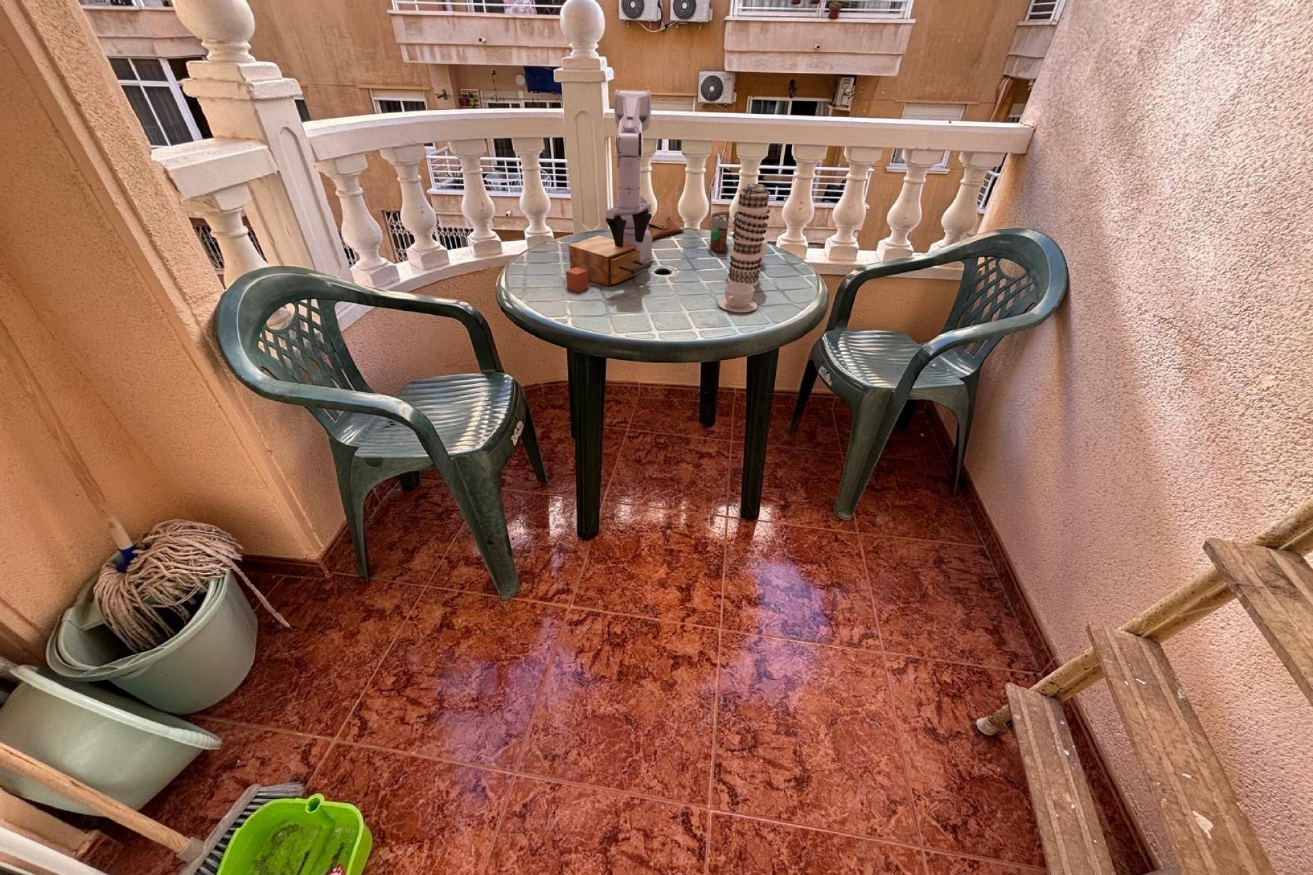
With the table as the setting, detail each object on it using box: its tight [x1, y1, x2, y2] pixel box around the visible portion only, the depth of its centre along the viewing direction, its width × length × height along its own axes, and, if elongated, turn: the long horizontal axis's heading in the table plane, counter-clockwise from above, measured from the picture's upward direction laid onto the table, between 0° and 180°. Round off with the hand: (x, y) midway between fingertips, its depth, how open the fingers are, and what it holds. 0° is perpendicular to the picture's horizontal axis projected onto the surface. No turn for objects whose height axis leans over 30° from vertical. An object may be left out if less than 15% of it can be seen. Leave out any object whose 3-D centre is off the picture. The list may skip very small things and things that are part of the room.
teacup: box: [717, 283, 758, 313], centre depth 134 cm, size 10×10×5 cm
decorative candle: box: [727, 183, 771, 288], centre depth 142 cm, size 9×9×25 cm
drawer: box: [608, 250, 652, 285], centre depth 147 cm, size 19×11×6 cm, turn 52°
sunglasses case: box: [647, 216, 685, 241], centre depth 182 cm, size 18×7×7 cm, turn 136°
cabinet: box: [568, 235, 637, 287], centre depth 149 cm, size 14×12×8 cm
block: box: [565, 267, 589, 293], centre depth 141 cm, size 4×4×5 cm
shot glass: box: [760, 238, 769, 266], centre depth 160 cm, size 7×7×7 cm
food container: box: [708, 211, 730, 254], centre depth 170 cm, size 12×6×10 cm, turn 172°
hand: (629, 244), depth 140 cm, fingers open, 7 cm apart
